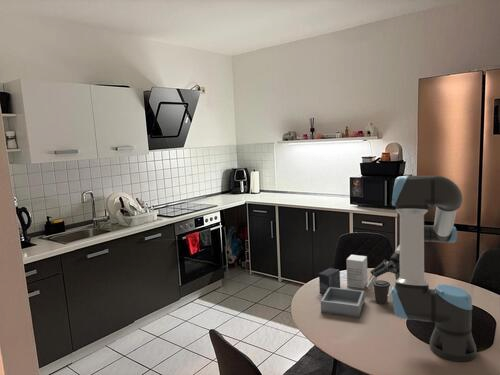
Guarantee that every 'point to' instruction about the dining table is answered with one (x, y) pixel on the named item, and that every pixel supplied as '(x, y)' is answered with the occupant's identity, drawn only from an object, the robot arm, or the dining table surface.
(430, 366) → the dining table surface
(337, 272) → the small box
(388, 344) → the dining table surface
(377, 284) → the coffee cup
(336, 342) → the dining table surface
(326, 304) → the bin
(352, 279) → the supplement box
